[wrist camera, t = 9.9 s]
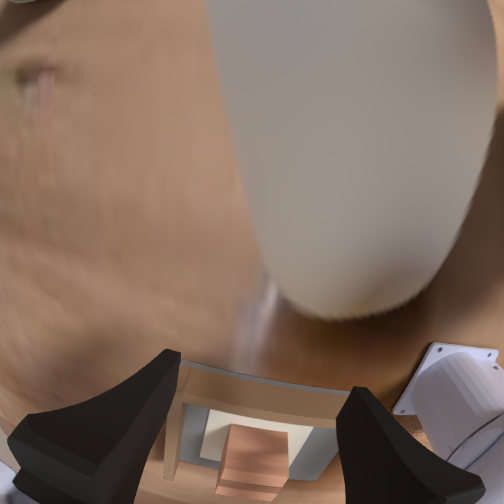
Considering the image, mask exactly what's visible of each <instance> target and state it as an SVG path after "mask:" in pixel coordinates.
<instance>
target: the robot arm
mask: <svg viewBox="0 0 504 504" xmlns="http://www.w3.org/2000/svg"><path fill="white" fill-rule="evenodd" d="M439 348H440V349H439ZM438 349H439V350H438ZM498 353H499V352H498V351H497V350H496V349H488V348H479V347H470V346H462V345H454V344H446V343H439V342H434V343H432V344H431V345H430V347H429V349H428V351H427V352H426V354H425V356H424V358H423V360H422V362H421V364H420V365H419V367H418V369H417V371H416V372H415V374H414V376H413V378H412V379H411V381H410V383H409V384H408V386H407V388H406V389H405V391H404V393H403V394H402V396H401V397H400V399H399V400H398V402H397V404H396V405H395V407H394V408H393V410H392V411H393V414H394V415H417V417H418V419H419V421H420V423H421V425H422V427H423V429H424V432H425V434H426V436H427V438H428V440H429V442H430V445H431V447H432V449H433V451H434V453H433V452H431V451H430V450H429V449H427V448H426V447H425V446H423V445H422V444H421V443H420V442H418V441H417V440H416V439H415V438H414V437H413V436H411V435H410V434H409V433H408V432H407V431H406V430H405V429H404V428H403V427H402V426H401V425H400V424H399V423H398V422H397V421H396V420H395V418H394V417H393V416H392V415H391V414H390V413H389V412H388V411H387V410H386V408H385V407H384V406H383V405H382V404H381V403H380V402H379V400H378V399H377V398H376V397H375V396H374V395H373V394H372V393H371V392H370V391H369V390H368V389H367V388H366V387H357V386H354V387H353V389H352V391H351V392H350V394H349V396H348V398H347V400H346V401H345V403H344V405H343V407H342V408H341V410H340V412H339V414H338V415H337V417H336V436H337V443H338V449H339V454H340V459H341V464H342V470H343V475H344V481H345V494H346V504H504V370H503V369H502V368H501V367H500V366H499V365H498V364H497V363H496V362H495V360H496V358H497V356H498ZM180 358H181V353H180V352H177V351H173V350H170V349H165V350H163V351H162V352H161V353H160V354H159V355H158V356H157V357H155V358H154V359H153V360H152V361H151V362H150V363H148V364H147V365H146V366H145V367H143V368H142V369H141V370H139V371H138V372H137V373H135V374H134V375H133V376H131V377H130V378H128V379H127V380H125V381H123V382H122V383H120V384H119V385H117V386H115V387H114V388H112V389H110V390H108V391H106V392H104V393H102V394H100V395H98V396H96V397H94V398H91V399H89V400H87V401H84V402H82V403H79V404H76V405H73V406H69V407H66V408H62V409H58V410H54V411H49V412H42V413H36V414H28V415H27V416H26V417H25V418H24V419H23V420H22V421H21V422H20V423H19V424H18V426H17V427H16V428H15V429H14V431H13V432H12V433H11V435H10V436H9V437H8V439H7V443H8V446H9V448H10V450H11V452H12V454H13V455H14V457H15V459H16V460H17V462H18V464H19V465H20V467H21V469H20V470H19V472H18V473H16V471H14V470H13V469H12V468H11V467H10V466H9V465H7V464H6V463H4V462H3V461H2V460H0V504H133V503H134V499H135V496H136V492H137V489H138V486H139V482H140V479H141V476H142V473H143V470H144V467H145V464H146V461H147V458H148V455H149V453H150V450H151V448H152V446H153V444H154V442H155V439H156V437H157V435H158V433H159V431H160V429H161V427H162V425H163V423H164V421H165V418H166V416H167V414H168V412H169V410H170V407H171V404H172V401H173V398H174V395H175V392H176V389H177V381H178V373H179V366H180Z"/></svg>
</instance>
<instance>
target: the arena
mask: <svg viewBox="0 0 504 504" xmlns="http://www.w3.org/2000/svg"><path fill="white" fill-rule="evenodd" d="M350 392H351V391H342V390H333V389H326V388H318V387H311V386H305V385H298V384H292V383H286V382H280V381H275V380H269V379H264V378H259V377H254V376H249V375H244V374H240V373H235V372H231V371H226V370H222V369H218V368H214V367H210V366H206V365H202V364H198V363H194V362H190V361H187V360H183V359H182V360H181V363H180V366H179V373H178V381H177V389H176V392H175V395H174V398H173V401H172V404H171V407H170V410H169V412H168V414H167V424H166V438H165V453H164V473H163V478H164V479H167V480H171V481H173V479H174V476H175V473H176V469H177V466H178V462H179V460H181V461H185V462H189V463H193V464H197V465H202V466H206V467H210V468H215V469H219V467H220V461H221V455H222V451H223V448H224V445H225V442H226V438H227V435H228V432H229V429H230V426H231V423H233V424H238V425H244V426H249V427H255V428H261V429H267V430H273V431H280V432H288V456H289V478H288V479H292V480H306V481H316V480H317V478H318V477H319V476H320V475H321V473H322V472H323V471H324V469H325V468H326V467H327V466H328V464H329V463H330V462H331V460H332V459H333V458H334V456H335V455H336V454H337V452H338V451H339V449H338V443H337V436H336V417H337V415H338V414H339V412H340V410H341V408H342V407H343V405H344V403H345V401H346V400H347V398H348V396H349V394H350Z"/></svg>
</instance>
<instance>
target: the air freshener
mask: <svg viewBox="0 0 504 504" xmlns="http://www.w3.org/2000/svg"><path fill="white" fill-rule="evenodd" d="M8 1H10V2H12V3H26V2H31V1H35V0H8Z"/></svg>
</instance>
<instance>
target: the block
mask: <svg viewBox="0 0 504 504" xmlns="http://www.w3.org/2000/svg"><path fill="white" fill-rule="evenodd" d="M288 478H289V456H288V432H280V431H273V430H267V429H261V428H255V427H249V426H244V425H238V424H233V423H231V426H230V429H229V432H228V435H227V438H226V442H225V445H224V448H223V451H222V455H221V461H220V467H219V473H218V479H217V485H216V491H215V493H216V494H221V495H227V496H233V497H239V498H246V499H254V500H262V501H272V500H273V499H274V498H275V496H276V495H277V494H278V493H279V492H280V490H281V489H282V487H283V485H284V484H285V482H286V481H287V479H288Z"/></svg>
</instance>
